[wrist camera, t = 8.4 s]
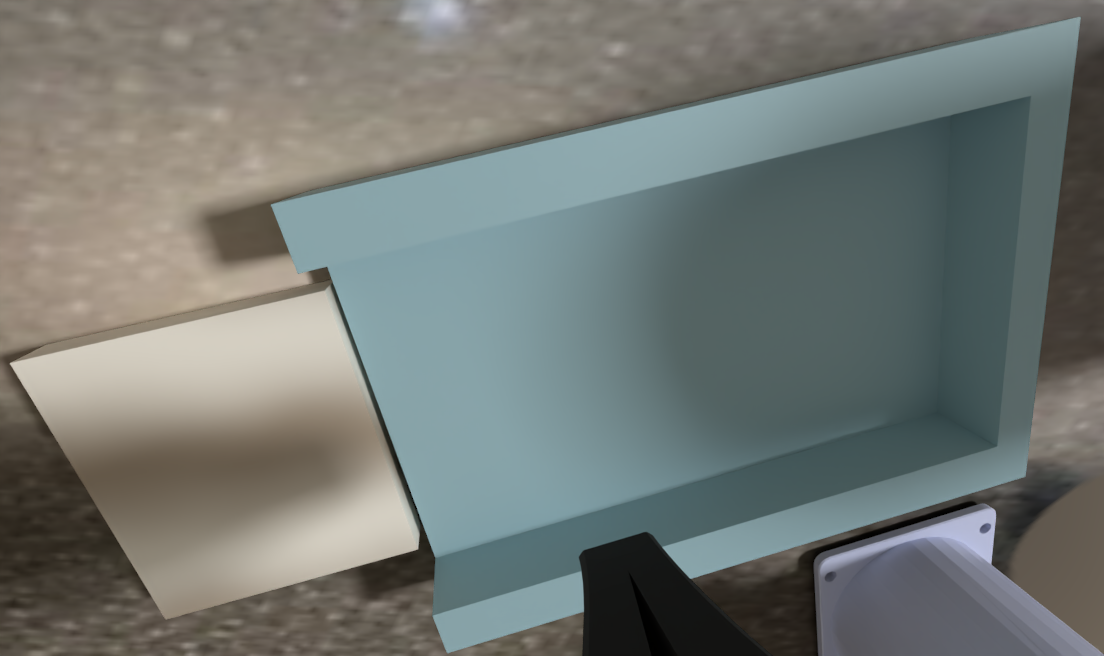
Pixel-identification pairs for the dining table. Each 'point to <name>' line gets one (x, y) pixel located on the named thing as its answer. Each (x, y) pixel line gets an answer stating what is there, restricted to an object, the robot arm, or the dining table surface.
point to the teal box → (708, 318)
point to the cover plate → (229, 445)
